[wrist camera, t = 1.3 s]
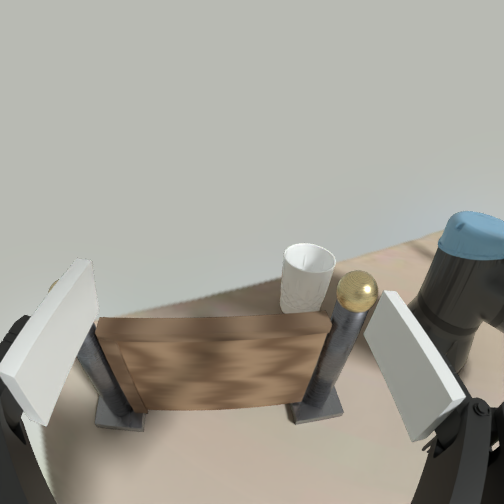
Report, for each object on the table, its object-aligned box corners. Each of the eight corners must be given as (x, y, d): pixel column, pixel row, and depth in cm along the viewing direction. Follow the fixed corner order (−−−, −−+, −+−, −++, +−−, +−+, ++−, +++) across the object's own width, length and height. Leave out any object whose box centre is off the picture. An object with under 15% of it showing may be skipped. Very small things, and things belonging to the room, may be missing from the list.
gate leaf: (297, 393, 33) (325, 310, 25) (301, 405, 32) (332, 324, 24) (136, 400, 30) (99, 317, 22) (134, 412, 29) (94, 332, 21)
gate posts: (328, 378, 36) (376, 253, 25) (341, 415, 31) (409, 295, 20) (104, 387, 32) (45, 260, 21) (97, 427, 27) (17, 306, 16)
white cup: (268, 312, 47) (274, 260, 42) (287, 286, 53) (295, 238, 48) (313, 330, 44) (327, 279, 39) (328, 301, 50) (341, 252, 45)
